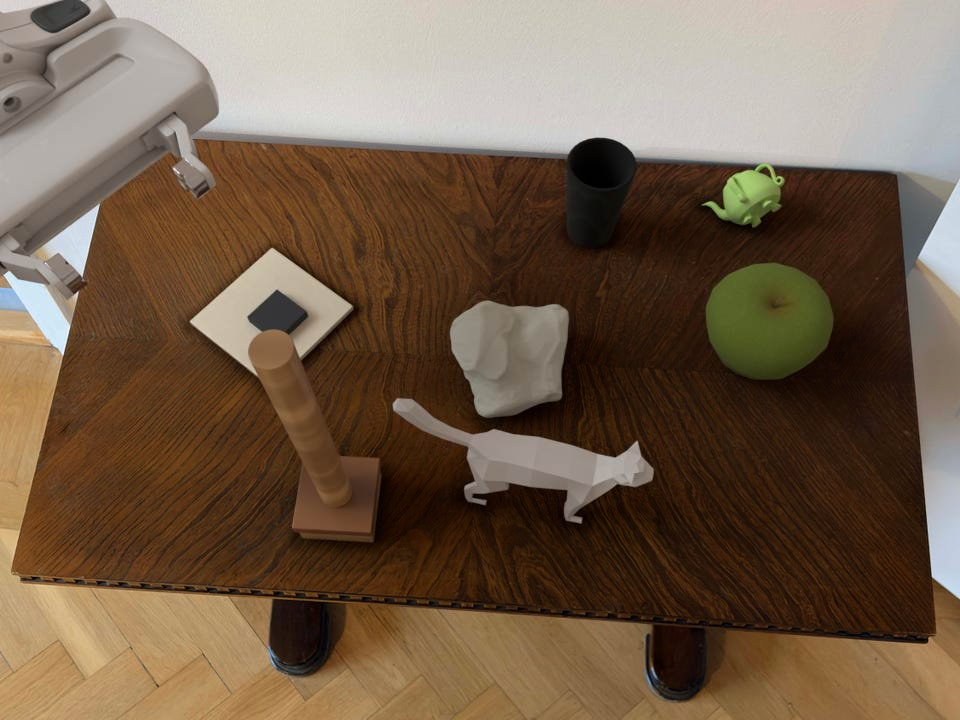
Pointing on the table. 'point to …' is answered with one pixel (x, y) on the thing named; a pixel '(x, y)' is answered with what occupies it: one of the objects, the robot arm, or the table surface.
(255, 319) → the felt pad
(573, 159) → the cup
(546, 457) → the cat figurine
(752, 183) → the green kettle
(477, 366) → the decorative stone
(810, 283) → the apple
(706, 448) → the table surface
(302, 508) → the wooden post stand
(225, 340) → the tile
